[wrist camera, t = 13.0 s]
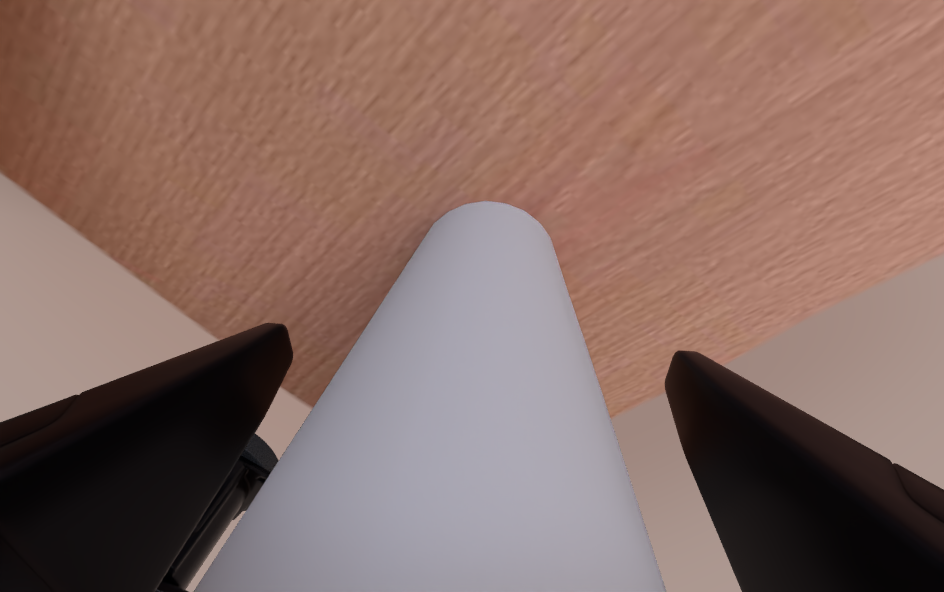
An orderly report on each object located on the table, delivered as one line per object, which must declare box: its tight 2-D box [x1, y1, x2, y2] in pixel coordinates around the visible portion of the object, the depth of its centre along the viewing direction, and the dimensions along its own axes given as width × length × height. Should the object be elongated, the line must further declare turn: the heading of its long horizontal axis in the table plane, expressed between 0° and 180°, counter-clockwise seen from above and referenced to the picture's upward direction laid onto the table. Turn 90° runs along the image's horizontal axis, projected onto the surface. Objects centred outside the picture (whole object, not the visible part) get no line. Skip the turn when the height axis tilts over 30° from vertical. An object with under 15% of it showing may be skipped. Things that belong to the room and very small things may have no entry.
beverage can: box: [194, 201, 666, 592], centre depth 8 cm, size 5×5×12 cm
